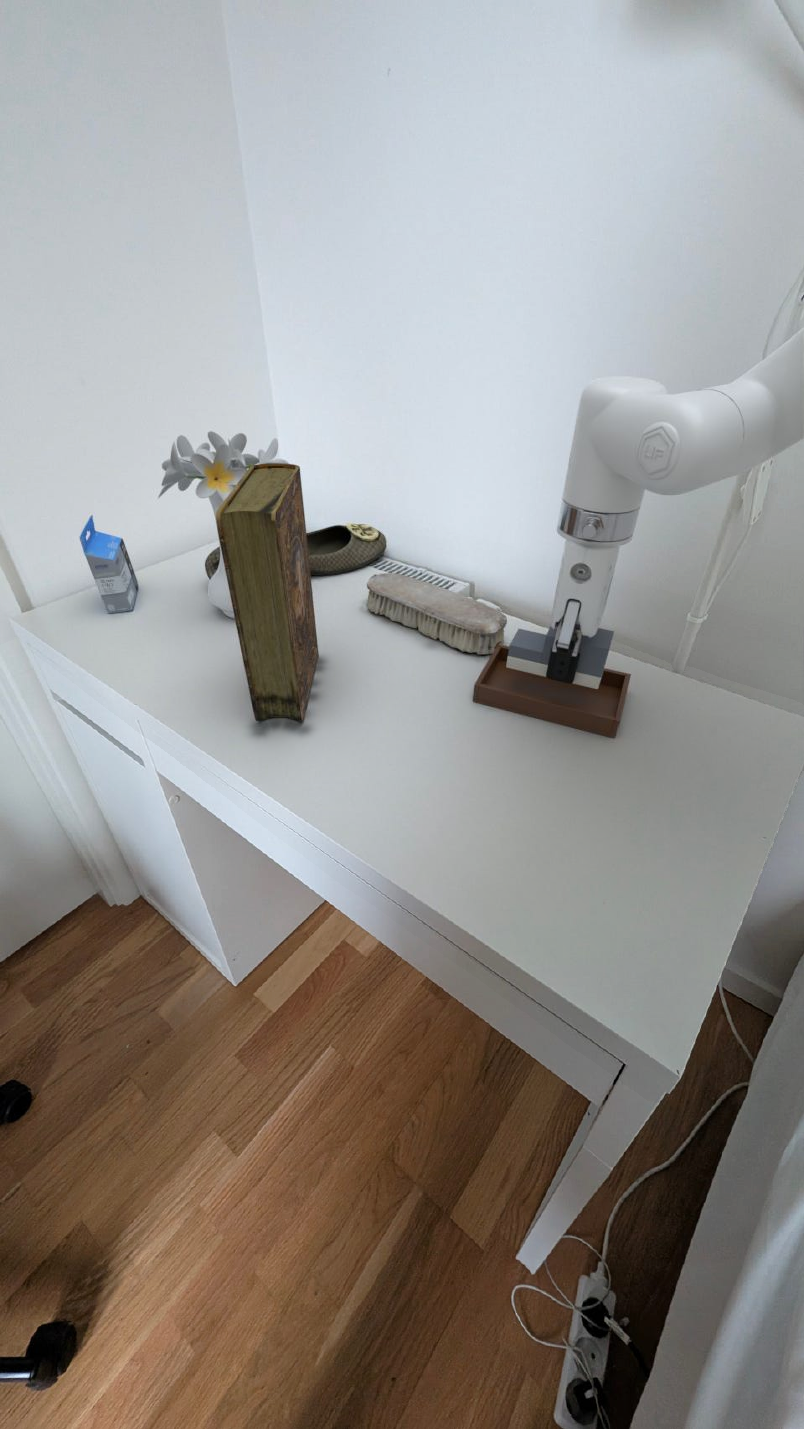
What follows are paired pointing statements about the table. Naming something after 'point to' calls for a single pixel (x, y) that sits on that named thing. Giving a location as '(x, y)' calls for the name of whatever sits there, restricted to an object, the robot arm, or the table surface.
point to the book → (271, 587)
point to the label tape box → (110, 568)
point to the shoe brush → (437, 612)
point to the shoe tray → (553, 696)
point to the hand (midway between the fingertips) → (564, 667)
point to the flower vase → (214, 485)
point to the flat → (332, 549)
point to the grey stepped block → (535, 649)
